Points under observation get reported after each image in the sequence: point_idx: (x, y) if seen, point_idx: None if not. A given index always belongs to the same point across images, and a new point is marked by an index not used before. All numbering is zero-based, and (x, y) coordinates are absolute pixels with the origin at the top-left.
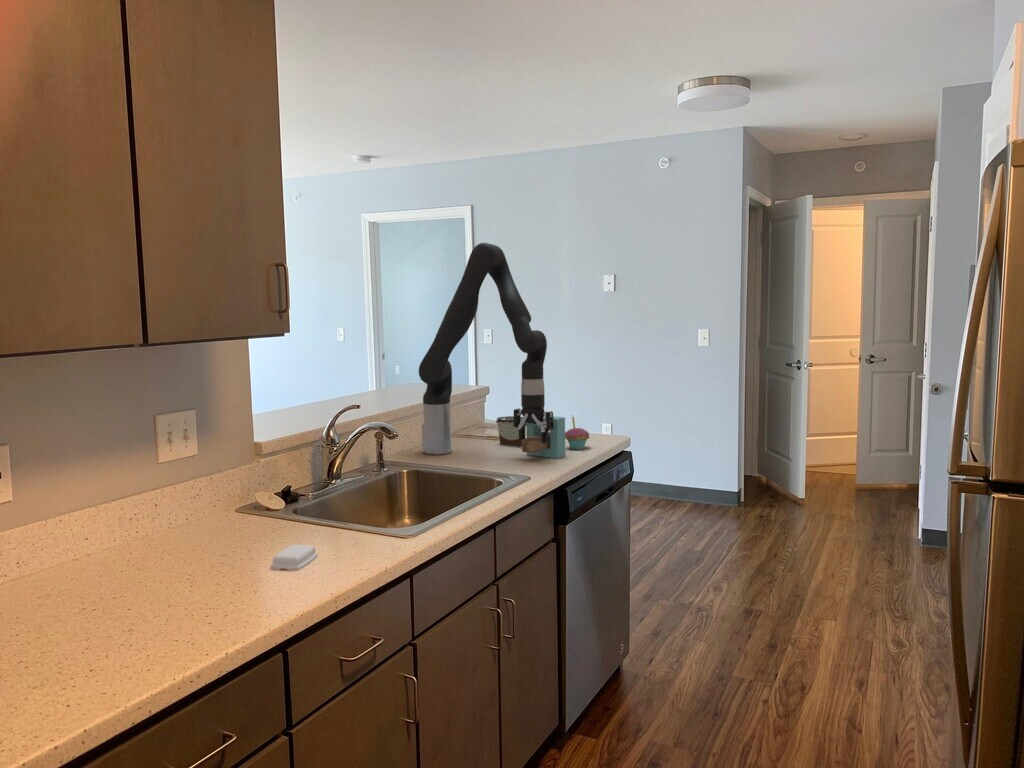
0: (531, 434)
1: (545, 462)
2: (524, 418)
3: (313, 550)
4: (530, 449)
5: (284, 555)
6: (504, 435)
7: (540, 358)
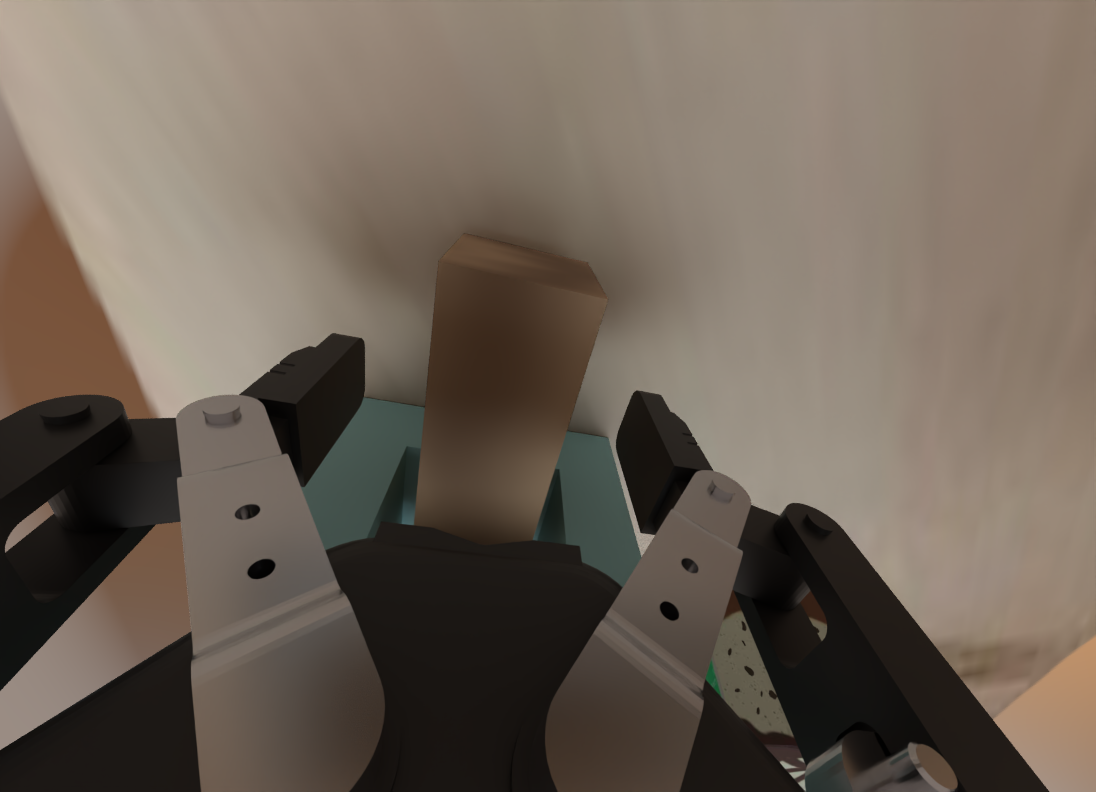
0: (589, 550)
1: (375, 254)
2: (666, 628)
3: None
4: (483, 246)
5: None
6: (822, 634)
7: None
